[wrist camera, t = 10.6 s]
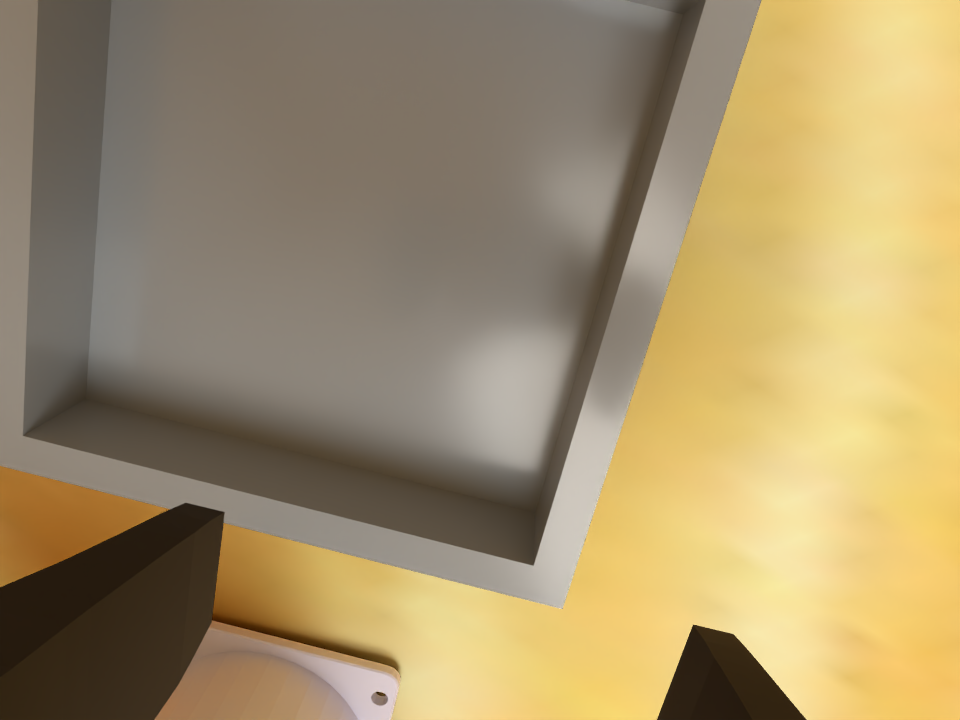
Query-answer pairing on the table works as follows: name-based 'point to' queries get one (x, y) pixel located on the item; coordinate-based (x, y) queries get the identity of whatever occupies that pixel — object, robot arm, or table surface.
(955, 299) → the table surface
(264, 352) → the dish
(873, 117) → the table surface
